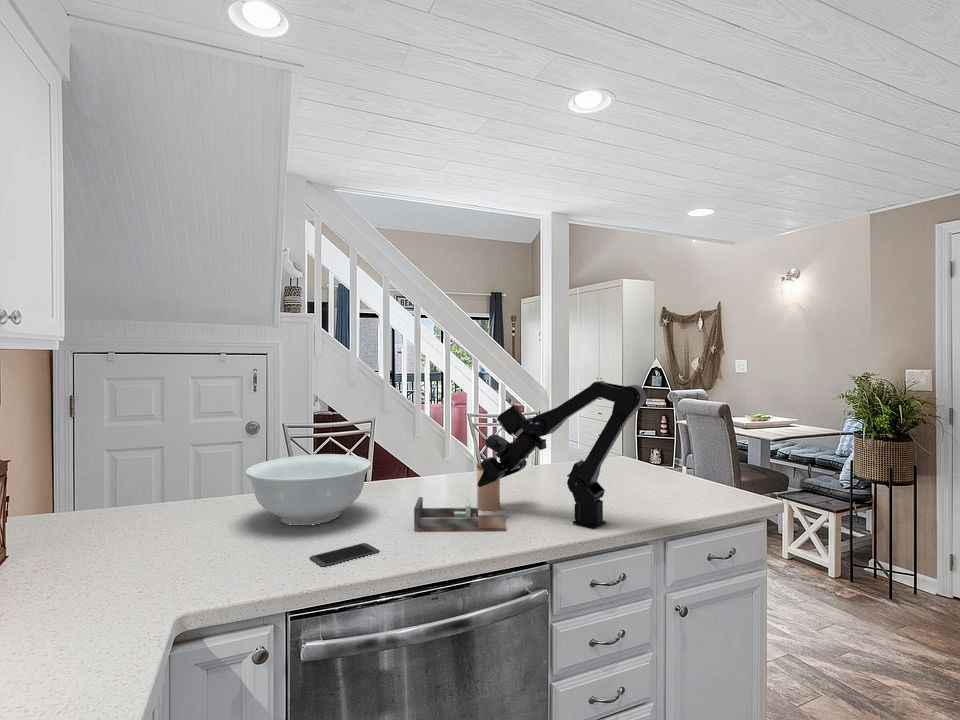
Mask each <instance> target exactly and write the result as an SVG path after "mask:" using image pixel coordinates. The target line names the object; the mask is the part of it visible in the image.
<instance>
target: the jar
mask: <svg viewBox="0 0 960 720" xmlns="http://www.w3.org/2000/svg"><path fill="white" fill-rule="evenodd" d="M482 461H483V460H481V461H478V462H476V483H477V484H478V482H479V480H480V478H481V476H482V473H483V468H482V466H481V464H480V463H481V462H482ZM500 480H501V479H499V480H497V481H495V482H492V483H490V484H487V485H484V486H482V487H479V486H478V485H477V486H476V488H477V489H476V491H477V492H476V495H477V496H476V497H477V498H476V499H477V502H476V508H478V511H480V510H481V511H480V512H486V511H491V512H497V511H499V510H501V498H500V497H501V489H500V488H501V485H500V484H501V483H500V482H501V481H500Z"/></svg>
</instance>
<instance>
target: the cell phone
mask: <svg viewBox="0 0 960 720" xmlns="http://www.w3.org/2000/svg"><path fill="white" fill-rule="evenodd" d="M379 552H380V553H381V551H380V550H379V549H378V548H376V547H374V546H372V545H371V544H369V543H367V542H362V543H358V544H354V545H350V546H345V547H343V548H338V549H335V550H330V551H326V552H323V553H322V552H320V553H318V554H313V555H311V556H309V561H311V562H312V561H313V562H312V563H314V562H315V563H316V564H315V563H314V564H315V565H317V566H318V565H319V566H320V567H319V566H318V567H319V568H321V567H325V568H328V567H327V566H329V567H333V566H335V564H337V565H339V564H338V563H340V564H343V563H342V562H344V563H346V562H345V561H348V562H350V561H349V560H352V561H354V560H353V559H355V560H358V559H357V558H359V559H362V558H361V557H363V558H366V557H365V556H367V557H369V556H368V555H370V556H373V555H372V554H374V555H376V554H375V553H378V554H380V553H379ZM332 565H333V566H332Z"/></svg>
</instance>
